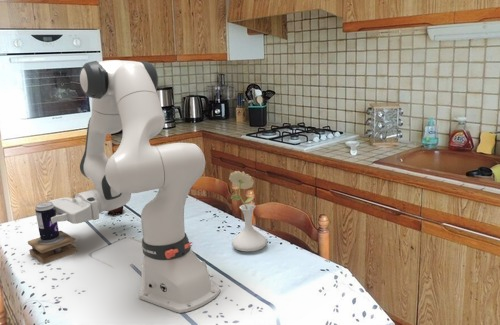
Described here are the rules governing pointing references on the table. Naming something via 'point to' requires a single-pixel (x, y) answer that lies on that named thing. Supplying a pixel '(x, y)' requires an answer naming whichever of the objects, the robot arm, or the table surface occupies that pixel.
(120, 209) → the mate gourd
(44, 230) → the beverage can
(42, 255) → the levelling stand
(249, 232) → the flower in vase
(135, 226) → the table surface
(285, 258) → the table surface
